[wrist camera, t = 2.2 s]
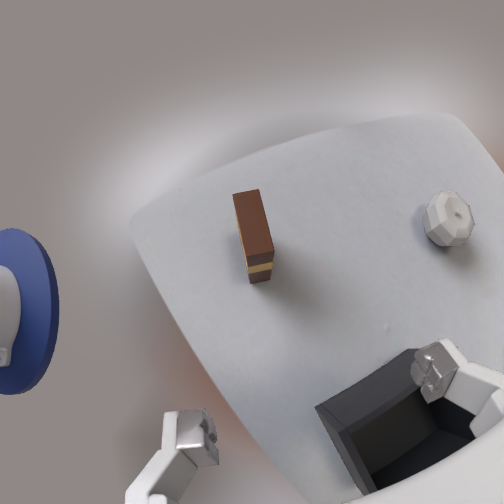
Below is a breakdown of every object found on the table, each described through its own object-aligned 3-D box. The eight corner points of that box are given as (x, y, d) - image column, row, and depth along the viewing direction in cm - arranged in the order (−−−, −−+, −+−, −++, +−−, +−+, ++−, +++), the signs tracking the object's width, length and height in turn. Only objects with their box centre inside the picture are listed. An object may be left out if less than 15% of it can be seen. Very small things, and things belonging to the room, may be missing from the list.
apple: (409, 245, 36) (433, 226, 29) (415, 197, 38) (436, 174, 32) (453, 264, 35) (480, 249, 28) (456, 217, 37) (480, 198, 30)
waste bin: (356, 485, 26) (386, 524, 16) (314, 407, 30) (337, 432, 20) (440, 427, 28) (488, 444, 17) (407, 348, 32) (457, 346, 21)
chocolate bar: (249, 284, 35) (245, 257, 24) (239, 236, 37) (231, 193, 26) (270, 279, 35) (275, 251, 24) (259, 232, 37) (259, 188, 26)
